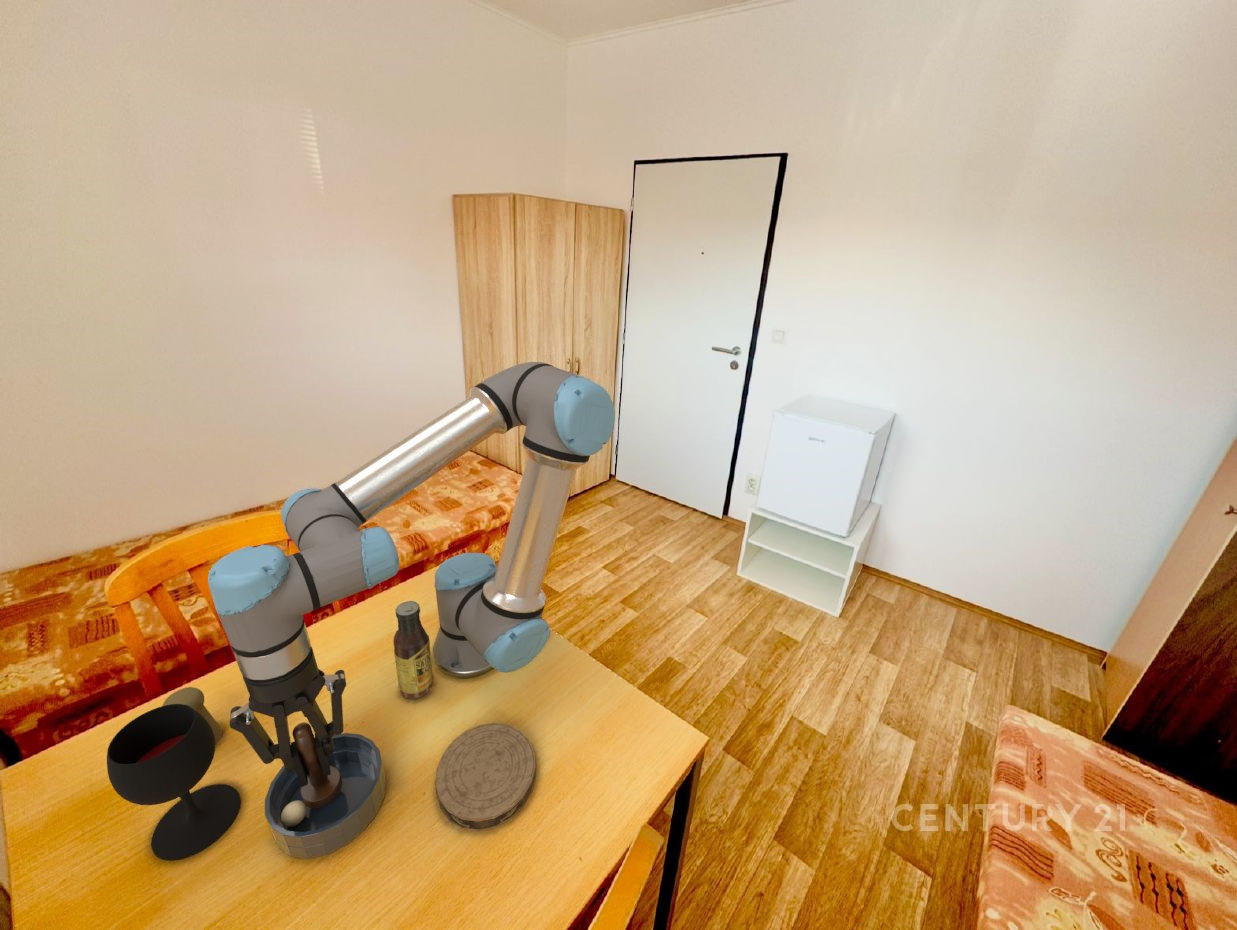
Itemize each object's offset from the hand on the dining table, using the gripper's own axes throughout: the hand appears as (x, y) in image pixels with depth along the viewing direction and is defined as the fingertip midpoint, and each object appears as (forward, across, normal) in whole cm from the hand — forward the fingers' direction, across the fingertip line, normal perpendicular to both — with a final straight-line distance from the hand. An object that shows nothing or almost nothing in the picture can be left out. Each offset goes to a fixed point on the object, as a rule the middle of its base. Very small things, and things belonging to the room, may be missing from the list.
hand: (315, 772), depth 72 cm
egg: (+6, +4, +1) cm, 7 cm away
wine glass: (+8, +16, -7) cm, 19 cm away
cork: (+8, +17, -22) cm, 29 cm away
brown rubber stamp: (+6, 0, -1) cm, 6 cm away
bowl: (+8, -1, 0) cm, 8 cm away
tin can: (+9, -23, +8) cm, 26 cm away
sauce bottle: (+9, -17, -16) cm, 25 cm away
